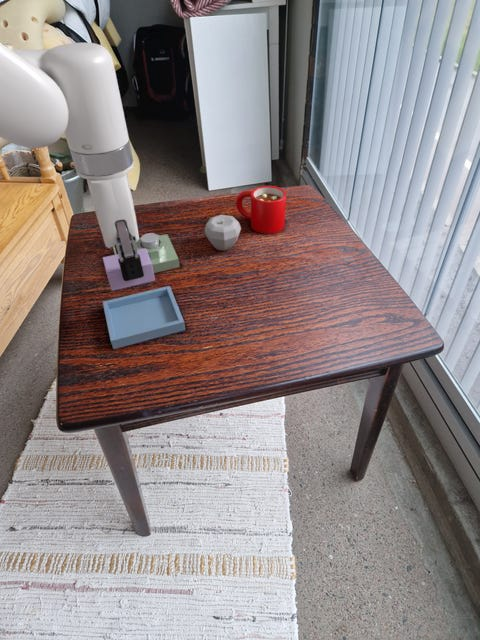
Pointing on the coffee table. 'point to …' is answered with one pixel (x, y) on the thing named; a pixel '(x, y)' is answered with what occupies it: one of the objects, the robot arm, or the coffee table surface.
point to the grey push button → (150, 241)
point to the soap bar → (116, 274)
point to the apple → (222, 231)
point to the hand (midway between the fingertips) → (130, 267)
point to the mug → (264, 208)
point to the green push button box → (161, 254)
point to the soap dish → (142, 317)
